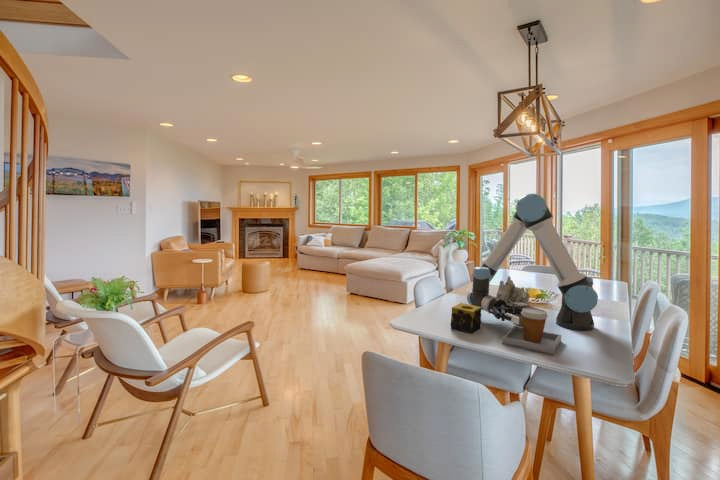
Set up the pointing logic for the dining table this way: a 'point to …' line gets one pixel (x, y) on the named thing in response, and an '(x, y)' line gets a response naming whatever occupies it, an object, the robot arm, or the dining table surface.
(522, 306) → the walnut block
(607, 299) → the dining table surface
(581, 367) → the dining table surface
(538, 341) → the disposable coffee cup
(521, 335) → the slate tray
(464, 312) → the tissue box
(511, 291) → the grey jagged rock
